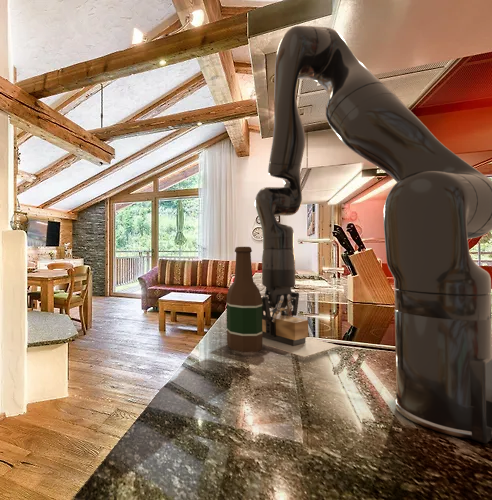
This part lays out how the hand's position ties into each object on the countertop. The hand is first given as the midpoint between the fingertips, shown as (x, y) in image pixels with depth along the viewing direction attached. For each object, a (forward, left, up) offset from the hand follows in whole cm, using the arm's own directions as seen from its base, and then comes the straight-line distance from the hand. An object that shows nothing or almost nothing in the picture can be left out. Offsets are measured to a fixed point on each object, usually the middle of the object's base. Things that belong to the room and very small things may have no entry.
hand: (278, 334), depth 75 cm
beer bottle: (0, +12, -2) cm, 12 cm away
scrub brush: (0, 0, -1) cm, 1 cm away
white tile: (-4, 0, -2) cm, 4 cm away
